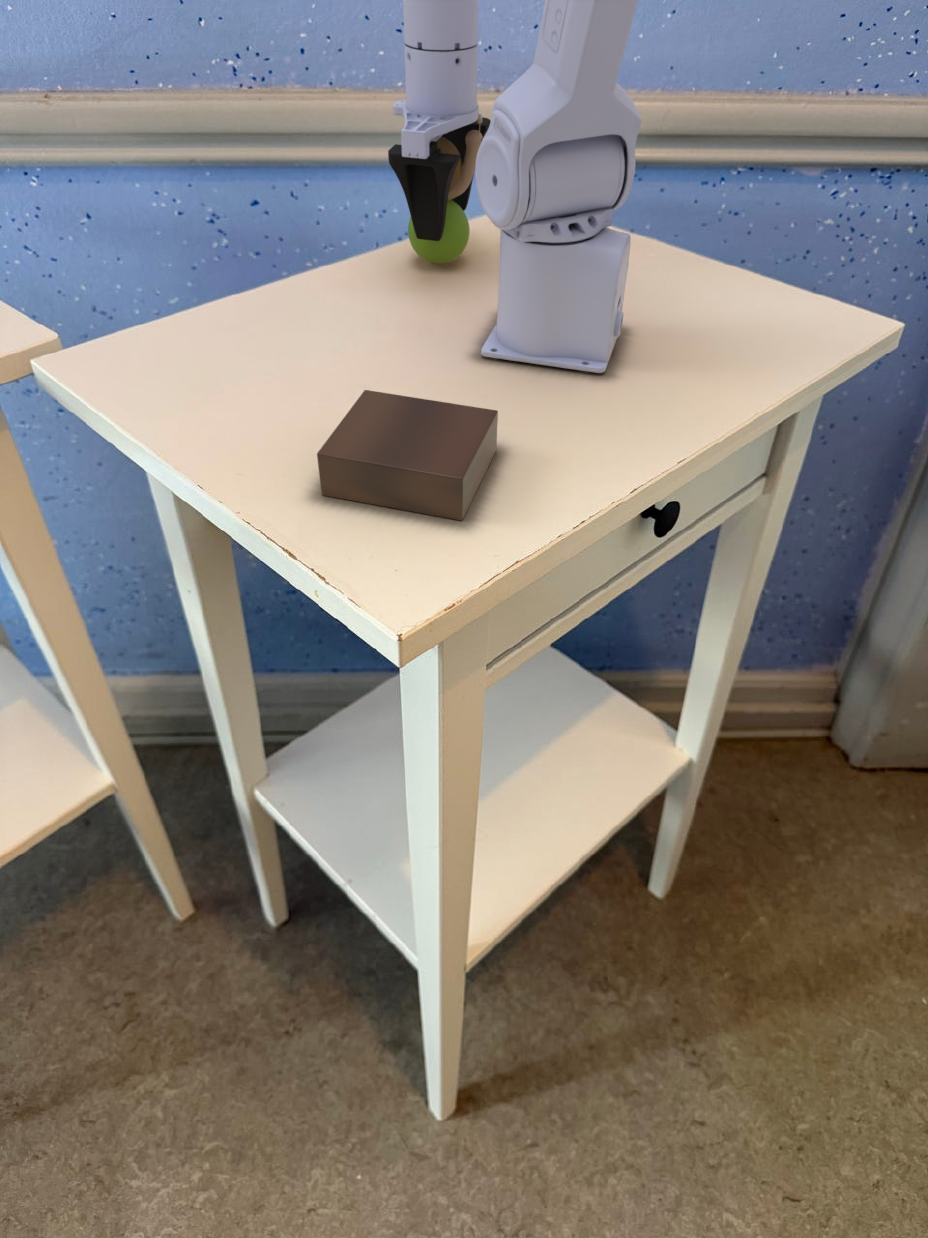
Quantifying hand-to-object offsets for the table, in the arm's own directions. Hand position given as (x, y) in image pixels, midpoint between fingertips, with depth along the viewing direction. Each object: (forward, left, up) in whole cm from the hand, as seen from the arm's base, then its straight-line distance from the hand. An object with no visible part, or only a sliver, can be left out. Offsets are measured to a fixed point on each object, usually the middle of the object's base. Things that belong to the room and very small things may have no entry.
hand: (442, 222), depth 80 cm
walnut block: (-8, +33, -3) cm, 34 cm away
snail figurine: (0, 0, -4) cm, 4 cm away
